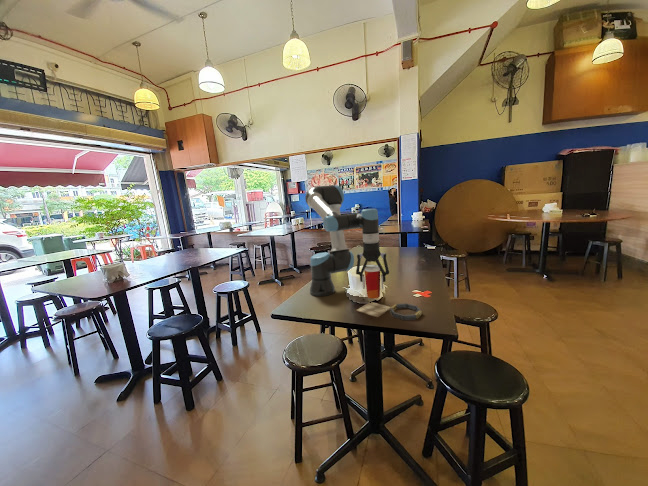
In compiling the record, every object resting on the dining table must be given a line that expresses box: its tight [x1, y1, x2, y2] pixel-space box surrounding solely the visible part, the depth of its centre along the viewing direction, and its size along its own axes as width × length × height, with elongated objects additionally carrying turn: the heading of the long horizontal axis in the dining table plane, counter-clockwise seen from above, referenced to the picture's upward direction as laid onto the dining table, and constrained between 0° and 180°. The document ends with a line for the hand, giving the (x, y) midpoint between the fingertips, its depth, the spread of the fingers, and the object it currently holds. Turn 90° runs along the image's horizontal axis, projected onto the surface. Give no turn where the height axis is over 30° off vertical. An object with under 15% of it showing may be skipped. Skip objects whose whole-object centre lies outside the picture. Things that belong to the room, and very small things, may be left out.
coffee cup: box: [363, 264, 381, 300], centre depth 120 cm, size 8×8×15 cm
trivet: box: [356, 301, 391, 318], centre depth 123 cm, size 12×12×1 cm
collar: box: [389, 302, 422, 321], centre depth 117 cm, size 13×13×2 cm
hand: (373, 288), depth 121 cm, fingers closed on coffee cup, 8 cm apart
